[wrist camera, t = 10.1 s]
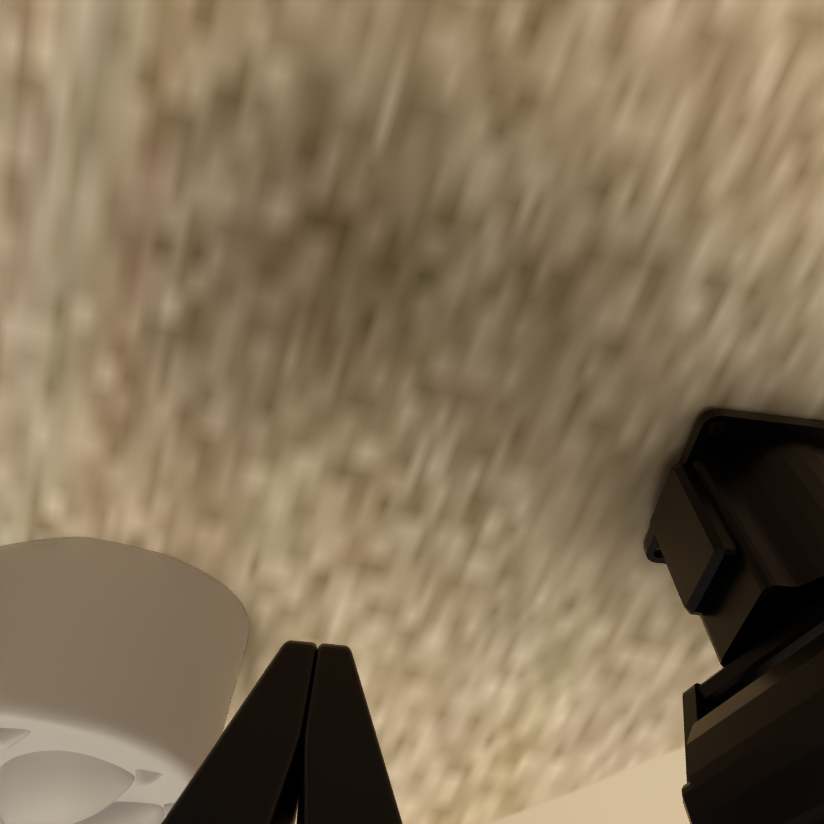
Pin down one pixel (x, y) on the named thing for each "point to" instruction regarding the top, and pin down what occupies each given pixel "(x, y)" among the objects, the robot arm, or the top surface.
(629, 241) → the top surface
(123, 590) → the lumpy-topped squat cylinder
